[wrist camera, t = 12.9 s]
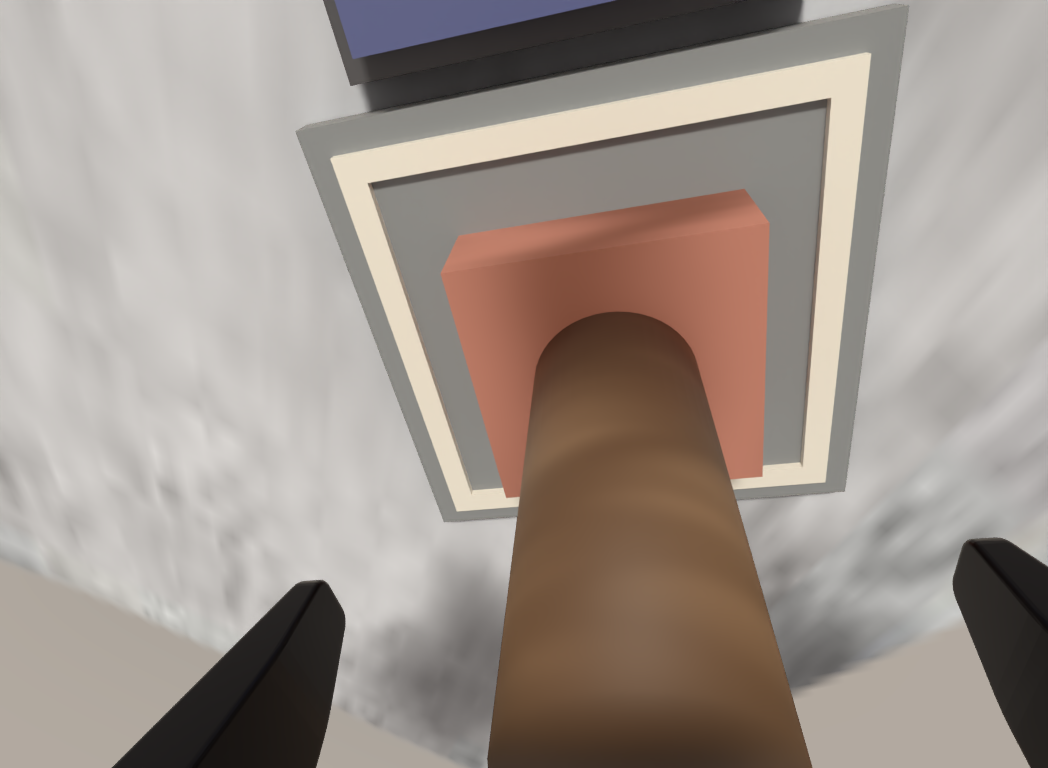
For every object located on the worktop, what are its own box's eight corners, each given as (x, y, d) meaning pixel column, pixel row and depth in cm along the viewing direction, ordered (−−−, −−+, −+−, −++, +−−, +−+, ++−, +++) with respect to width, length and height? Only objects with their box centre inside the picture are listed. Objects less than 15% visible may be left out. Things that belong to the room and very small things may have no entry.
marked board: (894, 3, 11) (914, 5, 10) (837, 476, 17) (847, 497, 16) (306, 124, 13) (291, 133, 12) (447, 507, 19) (442, 527, 18)
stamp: (744, 188, 12) (1032, 583, 4) (743, 422, 15) (906, 888, 8) (458, 235, 13) (275, 621, 5) (514, 444, 16) (449, 874, 9)
